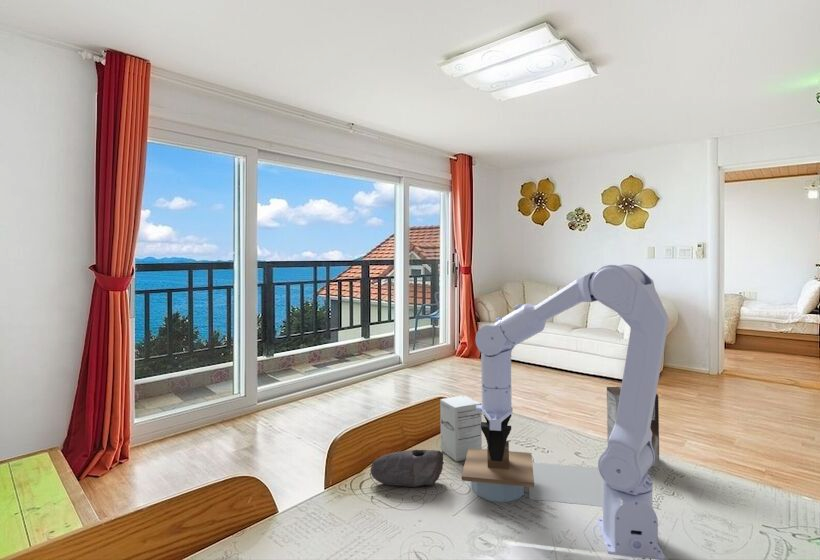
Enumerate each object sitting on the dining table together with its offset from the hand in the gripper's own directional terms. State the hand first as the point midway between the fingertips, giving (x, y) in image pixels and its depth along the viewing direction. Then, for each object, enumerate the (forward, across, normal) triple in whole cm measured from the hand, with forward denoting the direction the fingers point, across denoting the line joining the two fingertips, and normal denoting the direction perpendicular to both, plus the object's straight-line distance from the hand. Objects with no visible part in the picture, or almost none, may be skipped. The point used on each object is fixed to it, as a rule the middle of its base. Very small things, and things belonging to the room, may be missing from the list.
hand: (497, 453), depth 87 cm
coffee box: (+8, -19, +29) cm, 35 cm away
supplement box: (+8, -16, -9) cm, 20 cm away
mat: (+7, -5, +14) cm, 17 cm away
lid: (+3, 0, 0) cm, 3 cm away
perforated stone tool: (+8, +1, -18) cm, 20 cm away
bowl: (+7, 0, 0) cm, 7 cm away
